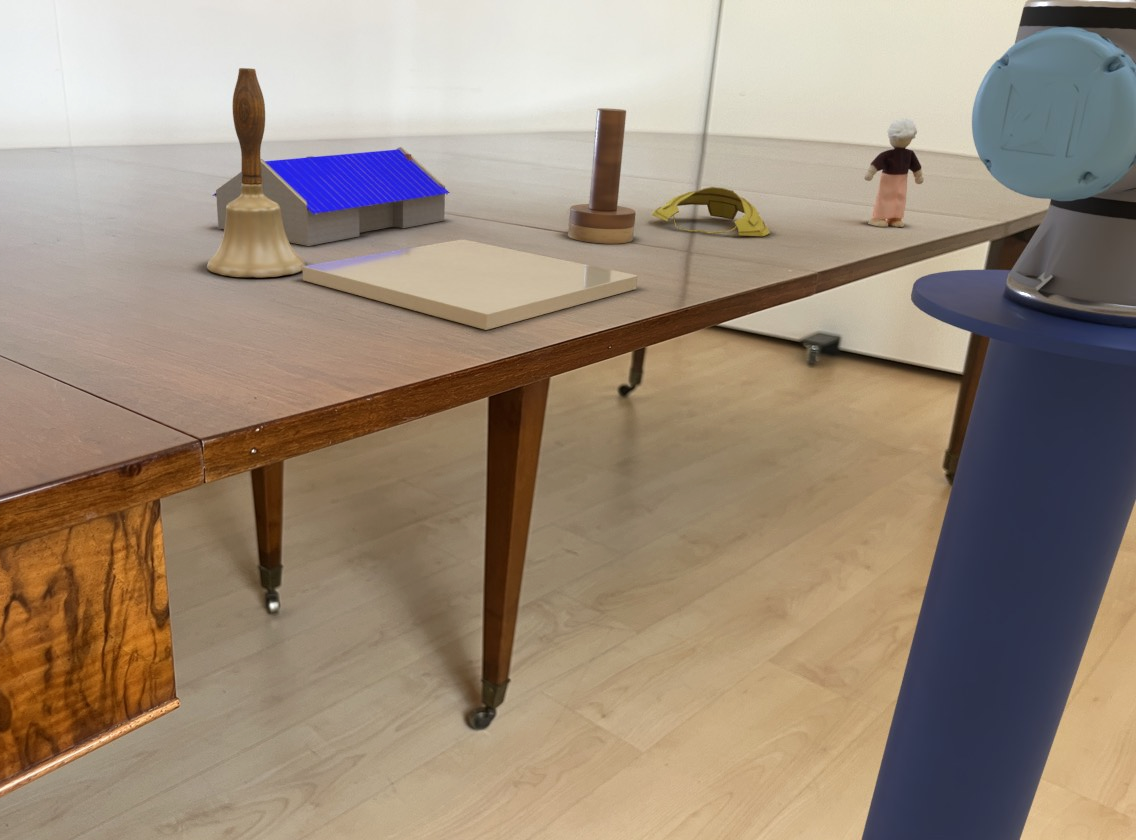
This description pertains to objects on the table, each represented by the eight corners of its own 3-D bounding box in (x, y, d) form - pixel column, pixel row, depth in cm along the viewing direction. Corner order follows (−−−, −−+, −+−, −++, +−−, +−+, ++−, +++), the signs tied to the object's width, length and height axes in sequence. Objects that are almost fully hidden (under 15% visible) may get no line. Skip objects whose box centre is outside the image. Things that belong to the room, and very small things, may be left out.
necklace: (789, 235, 114) (795, 198, 112) (698, 239, 109) (703, 200, 107) (723, 217, 124) (728, 182, 123) (637, 219, 120) (641, 183, 118)
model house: (355, 205, 119) (355, 141, 116) (449, 221, 112) (451, 153, 109) (213, 227, 102) (208, 152, 99) (313, 247, 95) (311, 167, 92)
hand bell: (196, 261, 87) (181, 64, 81) (287, 255, 91) (280, 67, 85) (221, 281, 81) (208, 69, 74) (319, 275, 85) (314, 72, 78)
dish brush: (645, 238, 108) (658, 111, 103) (609, 246, 103) (621, 113, 98) (592, 229, 112) (602, 106, 107) (555, 236, 107) (564, 107, 102)
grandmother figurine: (896, 221, 128) (918, 117, 123) (917, 227, 124) (940, 119, 119) (847, 222, 125) (867, 115, 120) (868, 228, 122) (889, 118, 117)
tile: (636, 289, 85) (637, 275, 85) (486, 330, 71) (486, 314, 71) (462, 251, 97) (462, 239, 96) (302, 280, 82) (302, 266, 82)
